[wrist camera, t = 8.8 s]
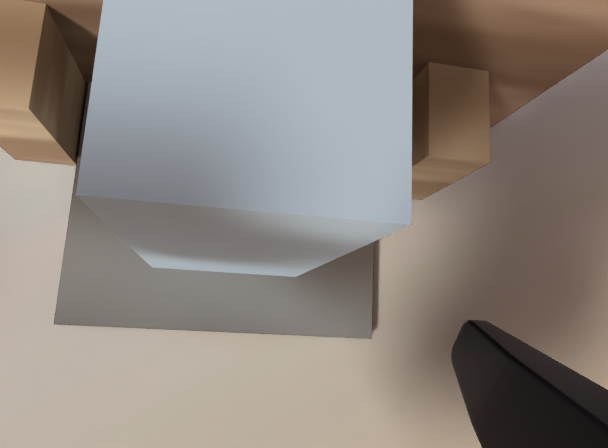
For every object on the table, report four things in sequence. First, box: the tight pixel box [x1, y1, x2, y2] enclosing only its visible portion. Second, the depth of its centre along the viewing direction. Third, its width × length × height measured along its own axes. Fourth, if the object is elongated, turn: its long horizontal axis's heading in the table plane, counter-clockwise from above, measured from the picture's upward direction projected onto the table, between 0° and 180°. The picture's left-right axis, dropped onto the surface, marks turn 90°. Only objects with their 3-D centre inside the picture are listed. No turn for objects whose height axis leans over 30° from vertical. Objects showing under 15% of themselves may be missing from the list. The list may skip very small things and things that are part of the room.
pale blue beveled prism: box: [76, 0, 413, 277], centre depth 13 cm, size 5×5×10 cm
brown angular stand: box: [0, 0, 608, 339], centre depth 13 cm, size 14×20×12 cm
